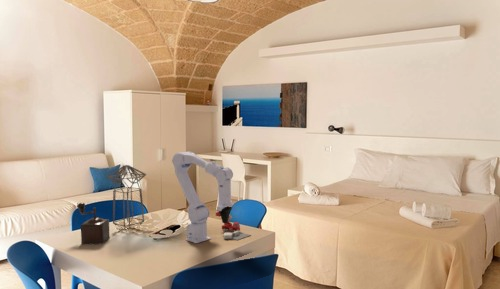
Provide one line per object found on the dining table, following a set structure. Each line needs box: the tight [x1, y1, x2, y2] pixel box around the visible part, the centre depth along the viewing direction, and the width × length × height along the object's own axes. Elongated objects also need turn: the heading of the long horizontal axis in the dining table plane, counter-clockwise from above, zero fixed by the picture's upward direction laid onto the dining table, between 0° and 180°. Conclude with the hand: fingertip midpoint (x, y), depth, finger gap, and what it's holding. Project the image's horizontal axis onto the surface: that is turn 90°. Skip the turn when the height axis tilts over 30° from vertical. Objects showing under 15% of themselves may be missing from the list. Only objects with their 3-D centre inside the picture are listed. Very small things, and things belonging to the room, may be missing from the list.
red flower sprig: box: [215, 211, 241, 232], centre depth 211 cm, size 3×14×10 cm, turn 58°
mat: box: [231, 231, 252, 241], centre depth 202 cm, size 10×10×1 cm
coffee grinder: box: [76, 202, 111, 245], centre depth 196 cm, size 16×11×18 cm
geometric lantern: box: [106, 164, 147, 233], centre depth 211 cm, size 16×16×35 cm
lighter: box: [222, 231, 240, 240], centre depth 200 cm, size 7×2×8 cm
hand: (225, 222), depth 188 cm, fingers closed
